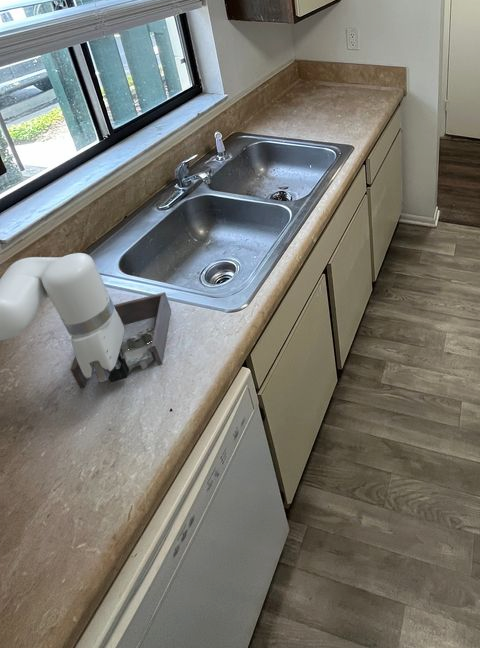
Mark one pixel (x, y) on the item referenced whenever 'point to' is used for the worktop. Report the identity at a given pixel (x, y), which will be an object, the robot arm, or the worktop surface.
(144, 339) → the egg carton
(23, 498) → the worktop surface
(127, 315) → the frame
